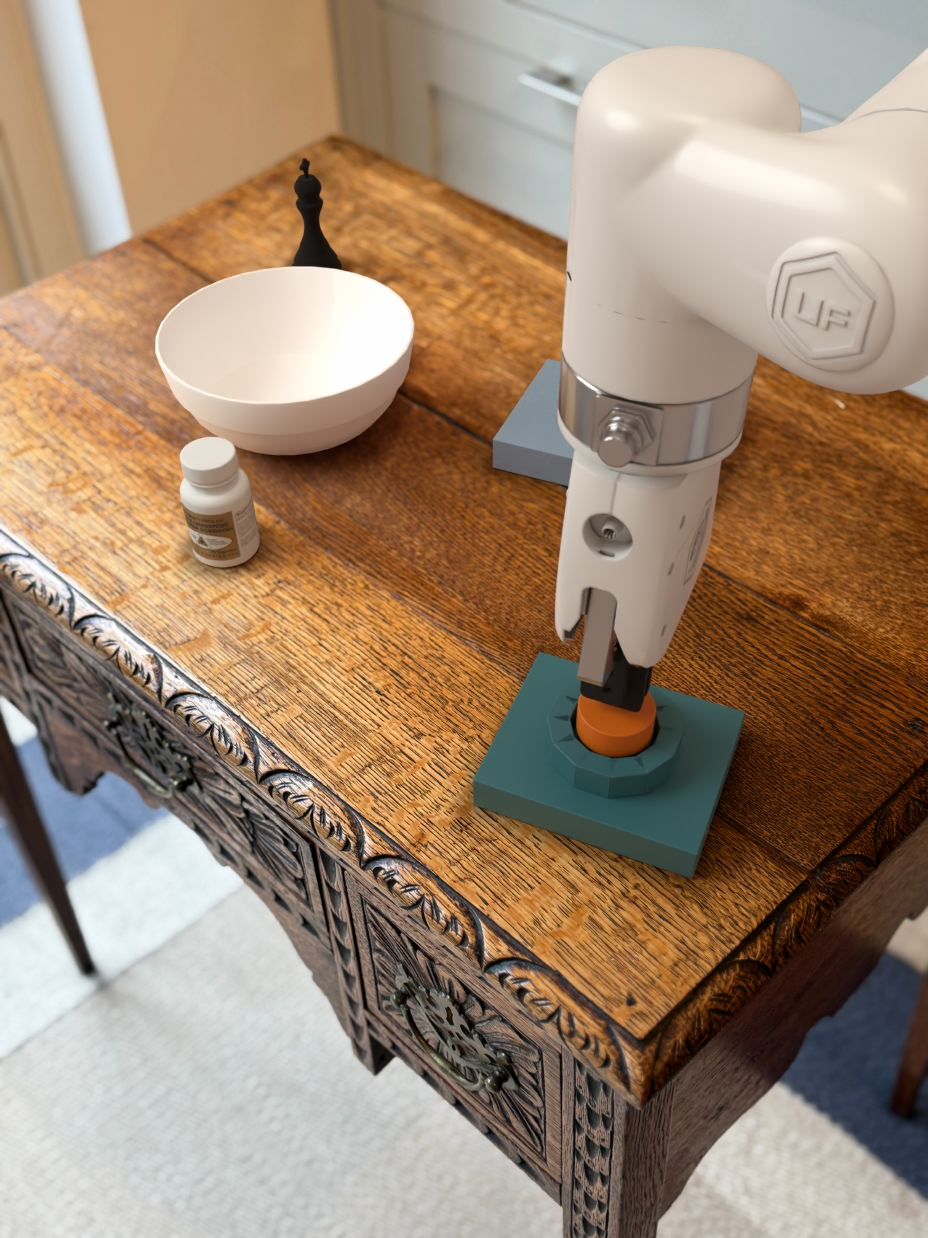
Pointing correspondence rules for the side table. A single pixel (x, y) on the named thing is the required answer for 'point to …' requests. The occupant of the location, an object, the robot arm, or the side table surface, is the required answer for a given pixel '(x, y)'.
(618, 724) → the button
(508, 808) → the button block
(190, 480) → the pill bottle
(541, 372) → the dial base
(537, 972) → the side table surface
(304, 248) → the chess piece
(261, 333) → the bowl
